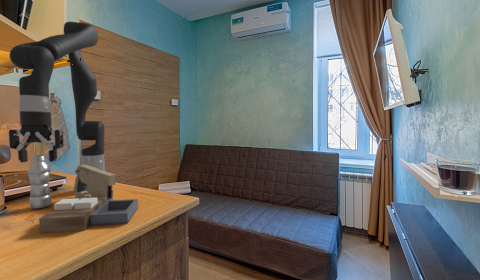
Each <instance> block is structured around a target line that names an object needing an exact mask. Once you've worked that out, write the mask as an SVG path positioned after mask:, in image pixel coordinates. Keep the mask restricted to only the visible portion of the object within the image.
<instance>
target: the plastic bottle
mask: <svg viewBox="0 0 480 280" xmlns="http://www.w3.org/2000/svg"><path fill="white" fill-rule="evenodd" d="M45 161H46V155H44V154H42V155H41V154H40V155H39V154H37V155H32V156H31V162H32V163H31V164H30V165H29V166H28V169H27V174H28V175H27V176H28V178H29V186H30V193H29V196H30V197H29V199H28V200H29V201H28V204H29V208H31V209H43V208H46V207H49V206H50V205H51V204H52V200H53V199H52V194H51V191H50V176H51V175H50V174H51V168H50V165H49V164H48V163H47V162H45Z"/></svg>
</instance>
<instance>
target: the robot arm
mask: <svg viewBox="0 0 480 280" xmlns="http://www.w3.org/2000/svg"><path fill="white" fill-rule="evenodd" d="M98 42H99V35H98V31H97V29H96V28H95V26H94V25H92V24H90V23H86V22H79V21H78V22H77V21H66V22H65V23H64V25H63V34H55V35H52V36H51V35H50V36H48V37H45V38H43V39H41V40H38V41H31V42H25V43H20V44H18V45H14V46H13V47H12V48H11V49H10V52H9V59H10V62H12V64H13V65H14V66H16V68H19V69H21V70H32V71H31V74H29V75H26V76H22V77H20V78H19V80H18V86H19V87H18V88H19V89H18V90H19V101H18V107H19V108H18V109H19V110H18V111H19V124H20V126H21V128H20V129H14V128H13V129H9V130H8V140H9V141H8V142H9V149H13V150H16V151H17V154H18V155H17V156H18V161H20V163H27V162H28V147H29V146H30V145H31V144H32V143H42V144H43V145H45V147H47V149H49V150H48V162H50V163H51V162H52V163H53V162H56V160H57V159H58V149H61V148H64V147H65V145H64V143H65V142H64V130H63V129H53V128H52V109H51V108H52V107H51V104H52V103H51V100H50V86H49V85H50V81H51V78H52V74H53V72H54V71H53V70H54V68H55V61H58V60H60V59H62V58H63V57H66V56H67V55H68V59H69V60H68V61H69V68H70V75H71V76H70V77H71V78H70V79H71V87H72V94H73V100H74V101H73V102H74V107H75V108H74V109H75V129H76V130H75V131H76V136H77V138H78V140H80V141H95V142H94V144H92V145H90V146H87V147H84V148H82V149H81V165H89V166H92V167H95V168H97V169H100V170H103V171H106V167H105V166H106V165H105V161H106V160H105V125H104V123H103V122H102V121H100V120H86V115H87V111H88V110H89V108H90V106H91V105H92V104H93V102H94V100H95V98H96V97H97V94H98V85H97V84H98V83H97V78H96V76H95V74H94V72H93V71H92V69H91V68H90V67H89V65H88V63H86V61H85V60H84V57H83V55H82V52H81V50H82V49H86V48H91V47H95V46H96V45H97V44H98ZM80 58H81V61H80ZM72 64H73V65H72ZM21 135H22V138H20V136H21ZM51 136H53V137H54V139H52V137H51ZM20 139H21V140H20ZM85 186H86V185H85ZM85 191H88V193H90V192H89V189H88V187H85Z"/></svg>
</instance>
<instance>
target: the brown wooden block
mask: <svg viewBox="0 0 480 280" xmlns="http://www.w3.org/2000/svg"><path fill="white" fill-rule="evenodd" d="M75 198H76V197H75ZM75 198H73V199H75ZM96 198H97V200H98V203H97V204H96V205H95V206H93V207H92V208H86V209H74V208H73V209H67V210H54V209H52V210H51V211H49V212H48V213H46V214H44V215H43V216H41V217H39V220H38V221H39V233H40V234H49V233H51V234H52V233H63V232H64V233H65V232H77V231H78V232H79V231H86V230H87V229H88V228H89V227H90V226H91V219H90V215H91V214H92V213H93V212H94V211H96V210H97V209H98V208H99V207H100V206H101V205H102V204H104V203H105V202H106V201H107V197H96ZM80 199H81V198H79V200H80Z"/></svg>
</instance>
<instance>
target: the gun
mask: <svg viewBox="0 0 480 280" xmlns="http://www.w3.org/2000/svg"><path fill="white" fill-rule="evenodd" d="M74 174H76V177H75V180H74V184H73V190H74V191H73V192H74V196H75V198H96V197H107V200H114V189H113V186H115V185H116V174H115V173H112V172H109V171H106V170H105V171H103V170H100V169H97V168H95V167H92V166H89V165H82V164H79V165H78V166H77V167H76V169H75V170H74ZM85 185H86V186H85ZM85 187H88V189H89V192H88V191H85Z"/></svg>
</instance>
